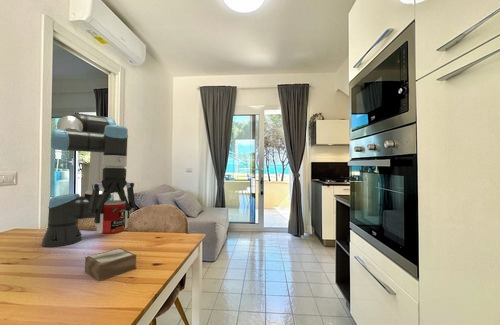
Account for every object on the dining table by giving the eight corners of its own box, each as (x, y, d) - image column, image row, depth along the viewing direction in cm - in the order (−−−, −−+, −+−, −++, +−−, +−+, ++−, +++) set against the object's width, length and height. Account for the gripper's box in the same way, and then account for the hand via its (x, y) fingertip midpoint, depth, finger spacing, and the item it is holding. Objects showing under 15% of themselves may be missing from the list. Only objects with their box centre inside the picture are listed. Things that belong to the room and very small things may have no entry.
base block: (84, 271, 80) (85, 256, 81) (120, 260, 90) (120, 247, 90) (99, 281, 73) (100, 265, 74) (135, 268, 83) (136, 254, 83)
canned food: (113, 235, 78) (114, 203, 78) (94, 233, 79) (95, 202, 80) (129, 229, 85) (130, 200, 86) (111, 228, 87) (112, 199, 87)
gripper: (86, 166, 73) (83, 238, 72) (146, 168, 90) (144, 226, 89) (77, 166, 77) (74, 234, 76) (136, 168, 94) (134, 223, 93)
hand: (112, 229), depth 82 cm, fingers closed on canned food, 8 cm apart
